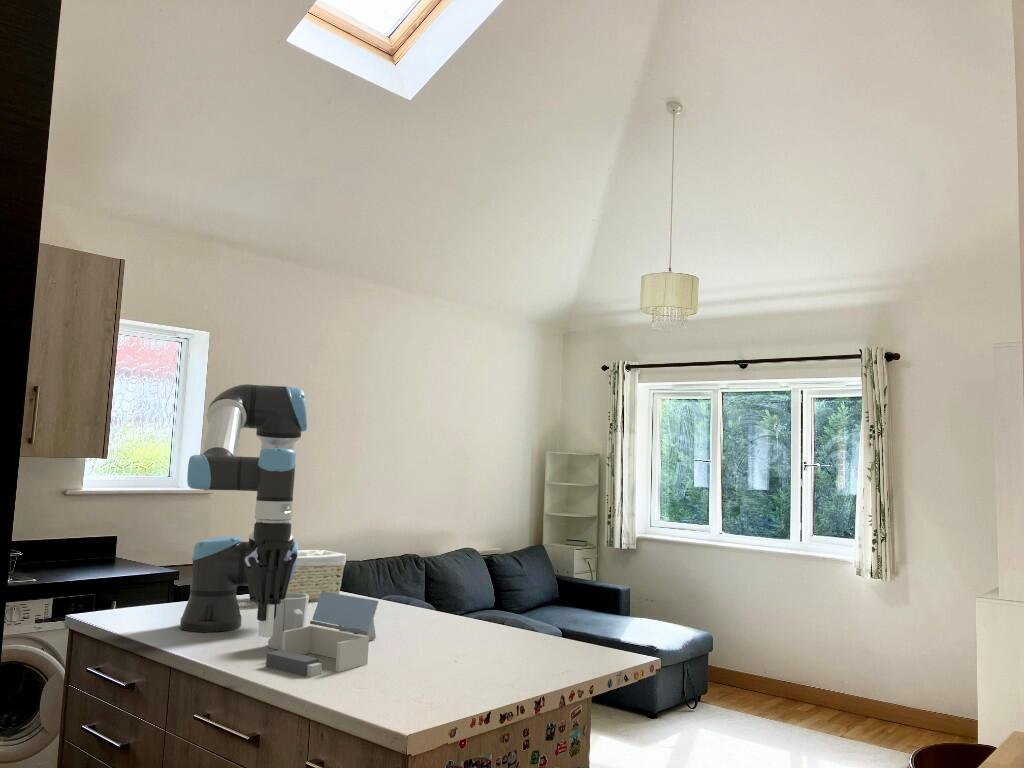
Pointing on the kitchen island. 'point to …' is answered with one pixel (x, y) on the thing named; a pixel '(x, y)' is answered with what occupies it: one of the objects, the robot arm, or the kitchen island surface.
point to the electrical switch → (370, 633)
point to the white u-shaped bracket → (328, 645)
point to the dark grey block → (294, 663)
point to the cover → (345, 612)
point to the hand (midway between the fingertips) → (265, 636)
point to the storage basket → (317, 573)
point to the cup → (288, 617)
